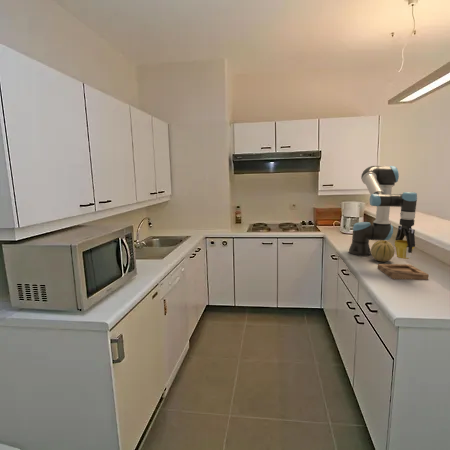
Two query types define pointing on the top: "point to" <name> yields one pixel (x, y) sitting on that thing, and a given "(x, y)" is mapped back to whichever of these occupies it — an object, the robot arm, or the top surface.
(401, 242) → the plant pot
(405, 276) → the walnut tray
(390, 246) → the cantaloupe
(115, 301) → the top surface
